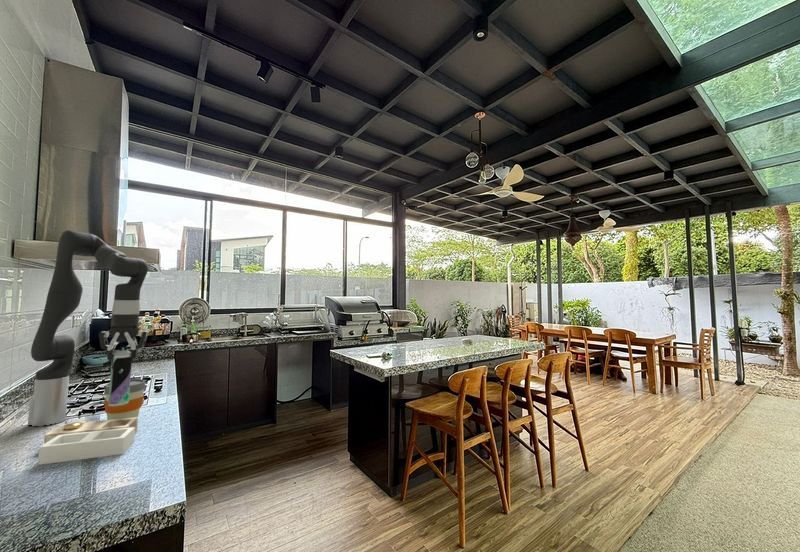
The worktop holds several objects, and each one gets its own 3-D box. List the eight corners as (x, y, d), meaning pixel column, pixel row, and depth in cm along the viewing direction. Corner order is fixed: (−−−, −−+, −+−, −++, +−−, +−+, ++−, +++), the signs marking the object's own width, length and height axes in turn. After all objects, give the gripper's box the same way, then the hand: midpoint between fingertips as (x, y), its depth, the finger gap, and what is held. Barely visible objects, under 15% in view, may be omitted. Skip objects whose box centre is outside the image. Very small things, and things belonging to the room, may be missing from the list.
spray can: (116, 407, 111) (121, 347, 112) (103, 405, 112) (108, 347, 113) (132, 402, 116) (137, 345, 117) (120, 400, 117) (124, 344, 119)
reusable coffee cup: (106, 419, 130) (109, 381, 131) (145, 414, 136) (148, 377, 137) (96, 430, 119) (100, 388, 120) (139, 424, 125) (142, 384, 126)
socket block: (43, 451, 103) (44, 434, 103) (60, 439, 111) (61, 424, 112) (126, 441, 111) (128, 426, 111) (137, 431, 119) (138, 417, 120)
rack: (37, 464, 95) (39, 447, 95) (56, 451, 103) (58, 435, 103) (122, 454, 102) (124, 437, 102) (134, 442, 110) (135, 427, 111)
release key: (59, 445, 106) (60, 427, 107) (67, 439, 110) (68, 422, 111) (76, 443, 108) (78, 426, 108) (83, 437, 112) (85, 421, 112)
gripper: (153, 312, 122) (150, 357, 121) (105, 312, 117) (101, 359, 116) (146, 313, 115) (142, 361, 114) (95, 313, 110) (90, 363, 109)
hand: (122, 360), depth 115 cm, fingers closed on spray can, 5 cm apart
